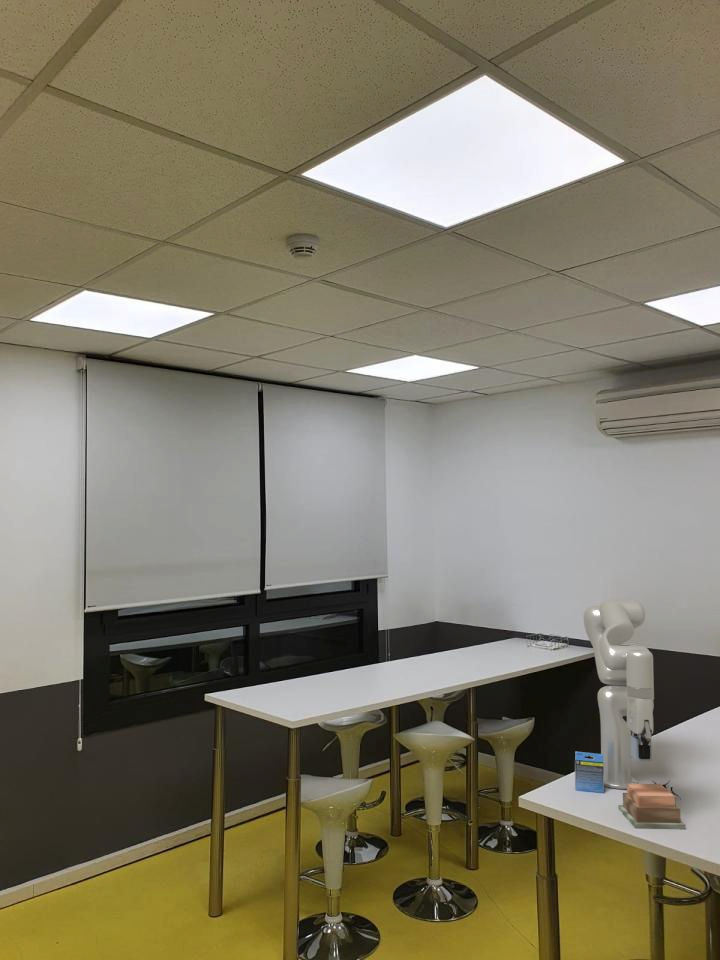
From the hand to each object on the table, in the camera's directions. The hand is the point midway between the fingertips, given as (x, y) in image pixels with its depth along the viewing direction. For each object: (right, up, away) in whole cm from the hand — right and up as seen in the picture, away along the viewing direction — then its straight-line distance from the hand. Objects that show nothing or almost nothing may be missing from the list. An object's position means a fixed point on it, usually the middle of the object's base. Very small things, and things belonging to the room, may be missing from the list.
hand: (641, 755), depth 214 cm
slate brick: (0, -1, 0) cm, 1 cm away
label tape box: (-9, -19, +21) cm, 30 cm away
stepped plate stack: (+2, -17, -2) cm, 18 cm away
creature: (+13, -19, +14) cm, 27 cm away
